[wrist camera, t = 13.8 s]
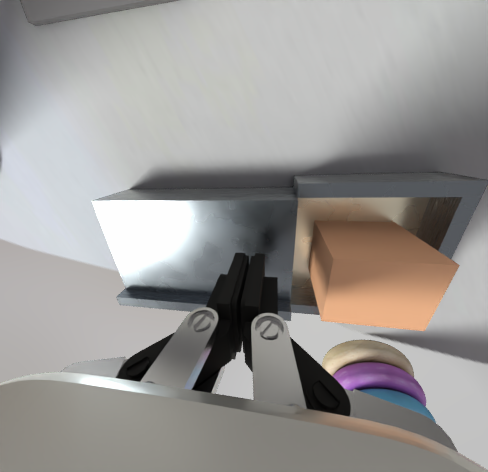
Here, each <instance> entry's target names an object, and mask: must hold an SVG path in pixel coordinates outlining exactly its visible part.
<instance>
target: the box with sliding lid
mask: <svg viewBox="0 0 488 472" xmlns="http://www.w3.org/2000/svg"><path fill="white" fill-rule="evenodd" d="M487 184H488V180H484V179H478V178H473V177H467V176H461V175H455V174H449V173H443V172H424V173H381V174H337V175H294V185H293V187H275V188H201V189H129V190H125V191H122V192H119V193H116V194H112V195H109V196H106V197H103V198H99V199H96V200H93V201H92V204H93V206H94V209H95V211H96V214H97V216H98V219H99V222H100V224H101V227H102V229H103V232H104V234H105V237H106V239H107V242H108V245H109V247H110V250H111V252H112V255H113V257H114V260H115V262H116V265H117V268H118V270H119V273H120V275H121V278H122V280H123V283H124V285H125V289H124V290H123V291H122V292H121V293H120V294H119V295H118V296H117V300H118V302H119V304H120V305H126V306H136V307H148V308H158V309H169V310H179V311H190V312H192V311H194V310H196V309H198V308H203V307H206V305H207V303H208V300H209V298H210V296H211V294H212V291H213V289H214V287H215V284H216V282H217V280H218V278H219V276H220V274H228V271H229V268H230V266H231V263H232V261H233V258H234V255H235V253H245V254H246V255H249V264H250V259H251V256H255V253H261V254H265V277H278V316H280V317H281V318H283V320H287V321H291V312H293V313H304V314H316V315H320V313H319V309H318V305H317V301H316V297H315V293H314V289H313V285H312V281H311V277H310V273H309V269H308V267H309V259H310V251H311V244H312V236H313V228H314V221H315V220H318V221H366V222H395V223H397V224H398V225H400V226H401V227H403V228H404V229H406V230H407V231H409V232H410V233H412V234H413V235H415V236H416V237H418V238H419V239H421V240H422V241H424V242H425V243H427V244H428V245H430V246H431V247H433V248H434V249H436V250H437V251H439V252H440V253H442V254H443V255H445V256H446V257H448V258H449V259H451V258H452V256H453V254H454V252H455V250H456V248H457V246H458V244H459V242H460V240H461V238H462V235H463V233H464V231H465V229H466V227H467V225H468V223H469V221H470V219H471V217H472V215H473V213H474V211H475V209H476V207H477V205H478V203H479V201H480V199H481V197H482V195H483V193H484V191H485V188H486V186H487Z"/></svg>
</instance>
